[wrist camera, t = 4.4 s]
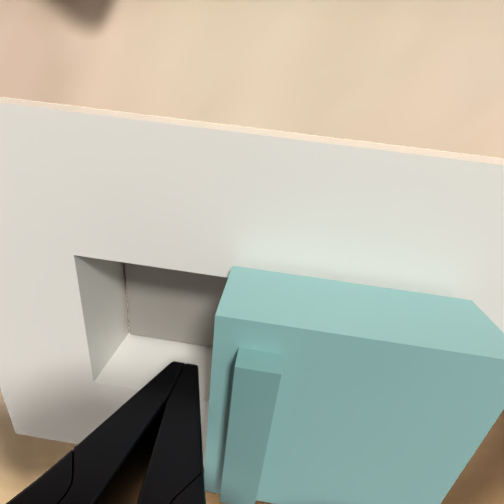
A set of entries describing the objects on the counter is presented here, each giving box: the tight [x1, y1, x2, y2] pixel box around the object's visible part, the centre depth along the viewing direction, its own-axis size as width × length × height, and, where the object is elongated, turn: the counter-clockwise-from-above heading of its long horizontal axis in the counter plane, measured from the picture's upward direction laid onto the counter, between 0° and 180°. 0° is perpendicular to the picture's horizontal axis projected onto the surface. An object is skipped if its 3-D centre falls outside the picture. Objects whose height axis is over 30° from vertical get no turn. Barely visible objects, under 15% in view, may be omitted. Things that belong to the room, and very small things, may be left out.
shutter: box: [204, 266, 504, 504], centre depth 9 cm, size 7×7×3 cm
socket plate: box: [0, 96, 504, 467], centre depth 12 cm, size 19×14×3 cm
